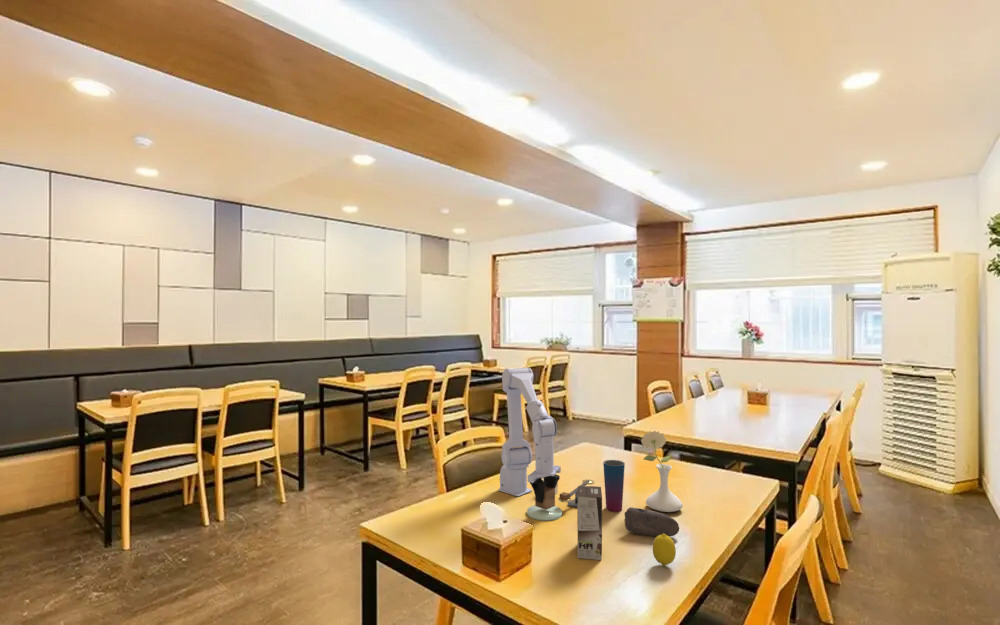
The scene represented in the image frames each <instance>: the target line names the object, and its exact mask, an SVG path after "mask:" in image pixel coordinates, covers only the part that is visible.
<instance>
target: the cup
mask: <svg viewBox="0 0 1000 625" xmlns="http://www.w3.org/2000/svg"><path fill="white" fill-rule="evenodd" d="M602 465H603V478H604V479H603V480H604V481H603V482H604V494H605V510H607V511H609V512H612V513H618V512H622V511H623V499H624V485H625V484H624V482H625V465H626V464H625V462H624V461H622V460H619V459H606V460H604V461H603V463H602Z"/></svg>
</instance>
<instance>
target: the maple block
mask: <svg viewBox="0 0 1000 625" xmlns="http://www.w3.org/2000/svg"><path fill="white" fill-rule="evenodd" d="M542 480H543V481H544V479H543V478H542ZM558 483H559V481H558V482H557V484H556V487H555V496H556V495H557V494H558V493H559V492H558V489H559V488H558Z"/></svg>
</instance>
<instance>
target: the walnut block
mask: <svg viewBox="0 0 1000 625" xmlns="http://www.w3.org/2000/svg"><path fill="white" fill-rule="evenodd" d="M534 502H535V503H534V505H535V506H537V507H539V508H542V509H545V510H547V509H549V508H551V507H554V506H556V495H555V488H551V487H548V486H545V490H544V499H543V503H539V502H537V501H536V497H534Z"/></svg>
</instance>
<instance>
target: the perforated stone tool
mask: <svg viewBox="0 0 1000 625" xmlns="http://www.w3.org/2000/svg"><path fill="white" fill-rule="evenodd" d="M624 525H625V528H626V530H627V531H628V532H630V533H634V534H637V535H640V536H641V535H642V536H650V537H657V536H659V535H662V534H666V535H667V536H669V537H670V538H671V537H674V536H676V535H678V533H679V531H680V525H679V523H678V522H677V520H675V519H674V518H673V517H671V516H670V515H667V514H664V513H661V512H660V511H659V512H658V511H656V510H655V511H654V510H650V509H644V508H637V507H631V506H630V507H628V508H627V509H626V511H625V512H624Z"/></svg>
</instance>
